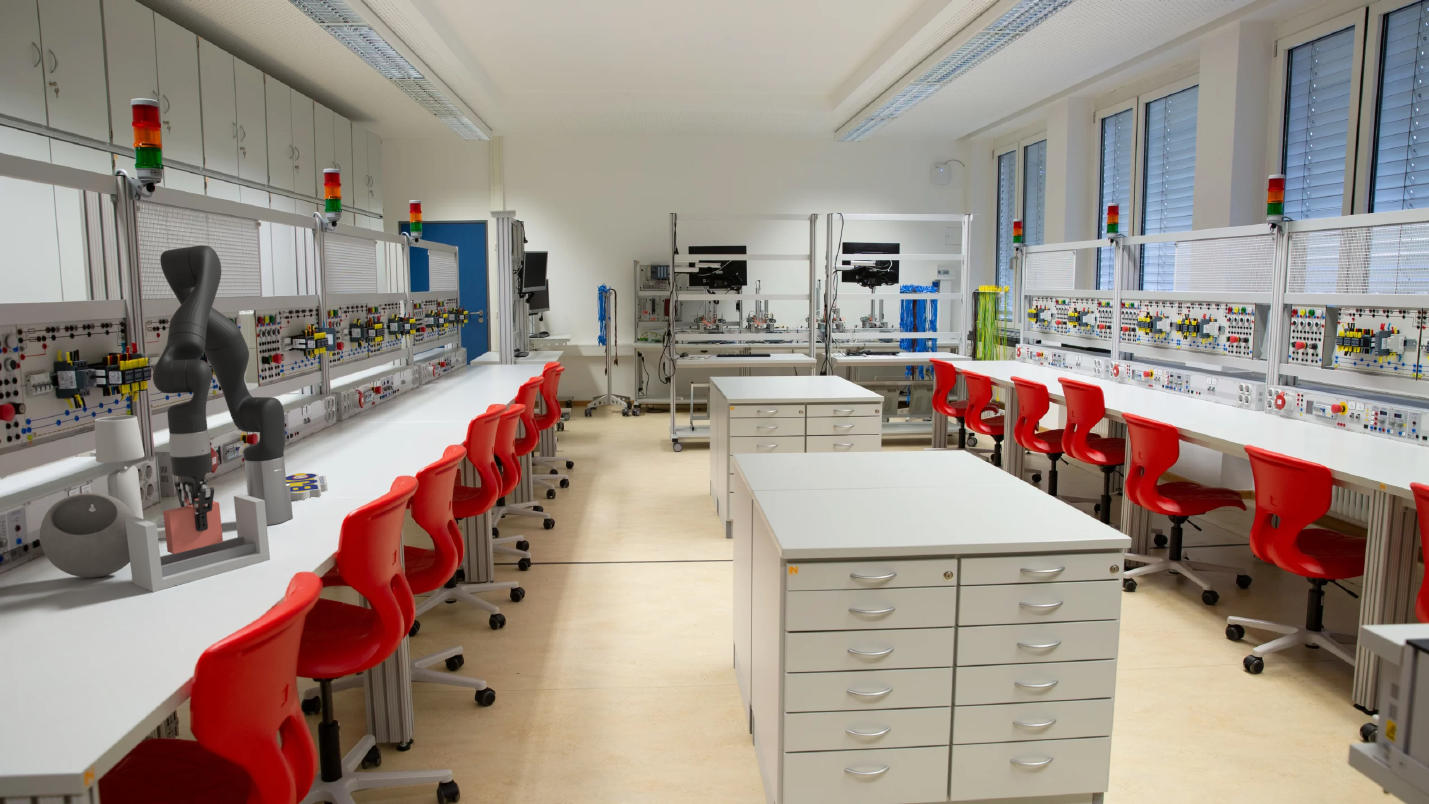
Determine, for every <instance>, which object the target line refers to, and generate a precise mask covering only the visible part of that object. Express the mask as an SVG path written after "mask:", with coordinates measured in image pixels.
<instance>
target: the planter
mask: <svg viewBox="0 0 1429 804" xmlns="http://www.w3.org/2000/svg"><path fill="white" fill-rule="evenodd" d="M92 505H93V508H94V509H95V510H92ZM131 517H136V516H135V515H134V513H133V512H132V511H131V509H130V508H129V507H128V506H127V505H125V504H124V503H123V502H122V501H120V500H118V499H116V498H114V497H112V496H109V495H108V494H105V493H100V492H83V493H75V494H72V495H69V496H66V497H63V498H62V499H60V500H58V501H57V502H55V503H54V504H53V505H52V506H51V507H50V508H49V509H48V510H47V512H46V514H45V516H44V517H43V520H42V522H41V524H40V529H39V541H40V545H41V548H42V550H43V553H44V555H45V556H46V558H47V559H48V560H49V562H50V563H51V564H52V565H53V566H54V567H55V568H57V569H59V570H60V571H61V572H63V573H66V574H68V575H70V576H75V577H79V578H87V579H88V578H91V579H92V578H101V577H106V576H109V575H112V574H114V573H116V572H119V571H120V570H122V569H123V568H125V567H126V566H128V564H129V563H130V556H129V548H128V539H127V531H126V523H125V519H127V518H131Z"/></svg>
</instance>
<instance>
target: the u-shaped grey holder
mask: <svg viewBox="0 0 1429 804" xmlns="http://www.w3.org/2000/svg"><path fill="white" fill-rule="evenodd" d="M233 503H234V512H235V513H234V514H235V525H236V533H237V534H236V535H237V537H234V538H229V539H227V540H226V539H225V540H223V542H220V543H216V544H212V545H208V546H204V547H200V548H196V549H192V550H188V551H184V552H180V553H176V554H172V553H170V554H166V555H162V556H161V553H160V552H161V551H160V544H159V543H160V542H159V539H158V533H157V524H155V522H152V521H149V520H146V519H144V518H143V519H141V518H138V517H131V518H127V519H125V523H126V531H127V539H128V548H129V556H130V562H129V563H130V570H131V571H130V574H131V581H132V583H133V584H135V585H137V586H139V587H141V588H143V589H146V590H147V589H148V591H150V592H152V593H155V591H156V592H159V591H162V589H163V590H166V589H169V588H173V587H176V586H175V585H177V586H180V585H179V584H181V585H183V584H188V583H191V582H195V581H199V580H202V579H205V578H206V579H207V578H210V577H213V576H217V575H220V574H223V573H227V572H229V571H234V570H238V569H242V568H244V567H248V566H252V565H256V564H259V563H263V562H266V561H270V560H271V558H270V557H271V556H270V547H269V546H270V545H269V543H270V542H269V536H268V534H269V533H268V525H267V522H266V511H265V500H262V499H258V498H255V497H251V496H248V494H244V493H242V494H236V495H233ZM158 590H159V591H158Z"/></svg>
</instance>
